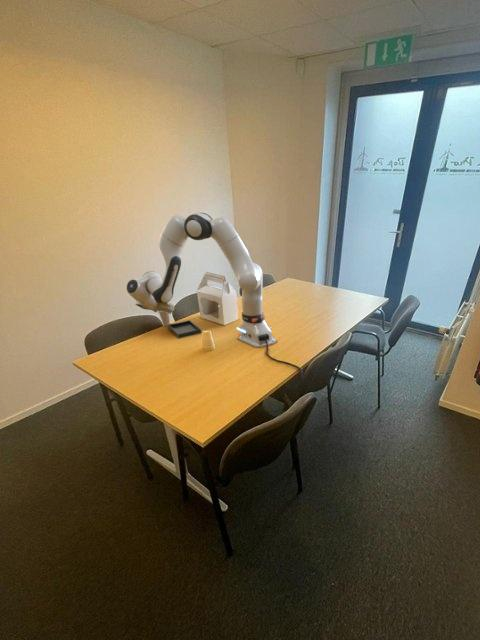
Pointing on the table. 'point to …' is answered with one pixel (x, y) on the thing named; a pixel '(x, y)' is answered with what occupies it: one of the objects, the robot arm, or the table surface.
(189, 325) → the tray
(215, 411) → the table surface
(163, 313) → the smoothie
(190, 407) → the table surface
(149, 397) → the table surface
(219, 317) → the gable box
